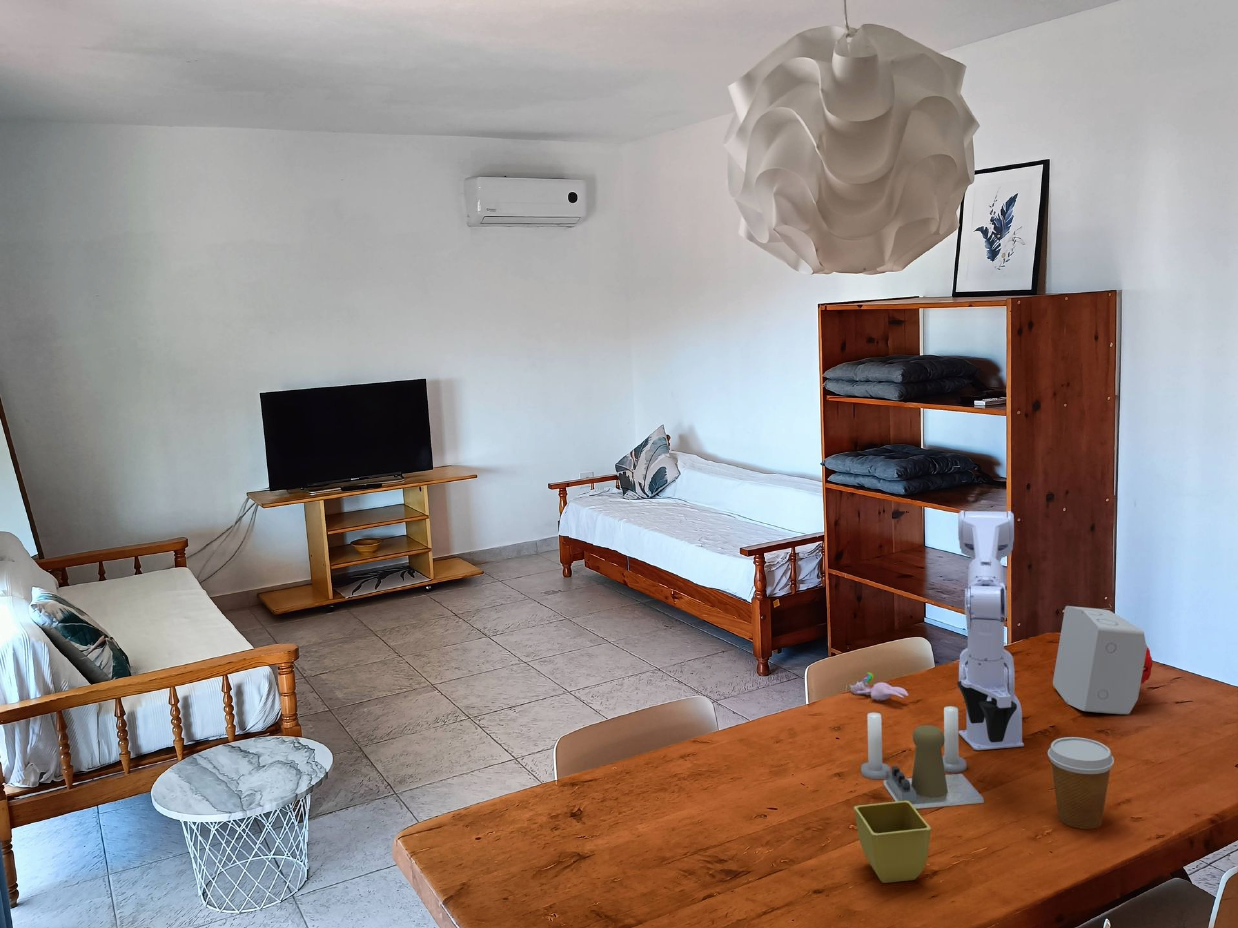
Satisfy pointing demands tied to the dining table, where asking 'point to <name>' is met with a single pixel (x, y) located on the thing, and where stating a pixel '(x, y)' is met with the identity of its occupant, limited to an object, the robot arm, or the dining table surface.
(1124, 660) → the electrical switch box
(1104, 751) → the disposable coffee cup
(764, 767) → the dining table surface
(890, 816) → the flower pot
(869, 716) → the post
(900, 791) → the board
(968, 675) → the robot arm
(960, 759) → the post
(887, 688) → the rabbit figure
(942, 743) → the cork
